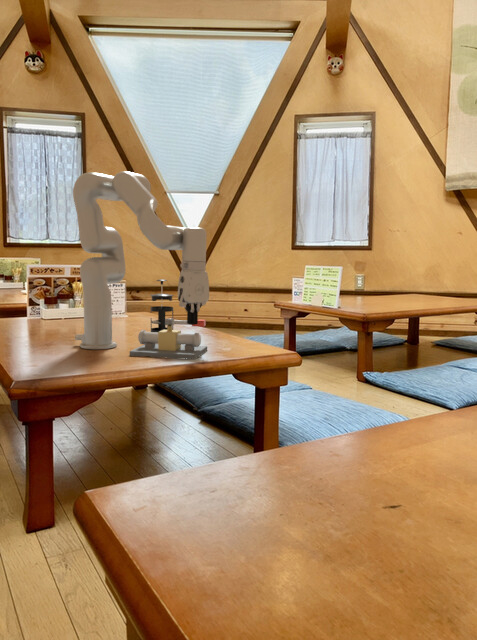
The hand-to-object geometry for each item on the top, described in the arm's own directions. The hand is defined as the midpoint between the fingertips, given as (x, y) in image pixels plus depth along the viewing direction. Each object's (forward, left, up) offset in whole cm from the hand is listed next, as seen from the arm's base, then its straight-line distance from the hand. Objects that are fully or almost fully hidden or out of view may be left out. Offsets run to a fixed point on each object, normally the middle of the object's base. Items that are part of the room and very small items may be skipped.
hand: (192, 323), depth 169 cm
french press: (-24, +36, -11) cm, 45 cm away
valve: (-10, +5, -11) cm, 15 cm away
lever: (-4, +6, -1) cm, 7 cm away
